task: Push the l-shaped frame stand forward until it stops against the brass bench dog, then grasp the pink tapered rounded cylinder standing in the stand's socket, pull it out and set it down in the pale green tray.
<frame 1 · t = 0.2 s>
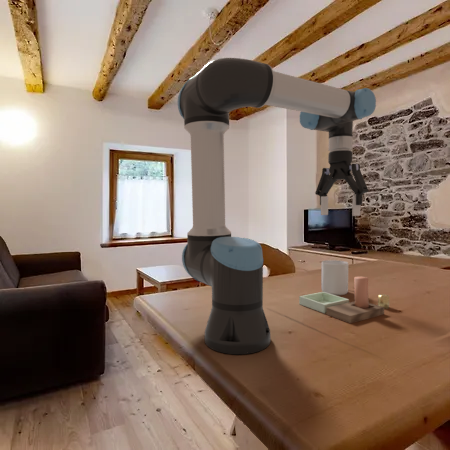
hand: (339, 215, 108), 28 cm above the table, fingers open, 13 cm apart
pink tapered rounded cylinder: (361, 312, 92), resting on l-shaped frame stand
l-shaped frame stand: (355, 318, 90), on the table, touching pink tapered rounded cylinder
bench dog: (383, 308, 96), on the table
tray: (323, 307, 98), on the table
mug: (336, 293, 115), on the table
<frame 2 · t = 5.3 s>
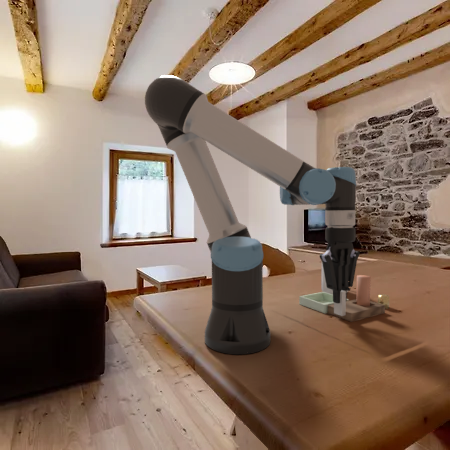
hand: (339, 314, 87), 2 cm above the table, fingers closed
l-shaped frame stand: (356, 315, 91), on the table, touching pink tapered rounded cylinder, gripper
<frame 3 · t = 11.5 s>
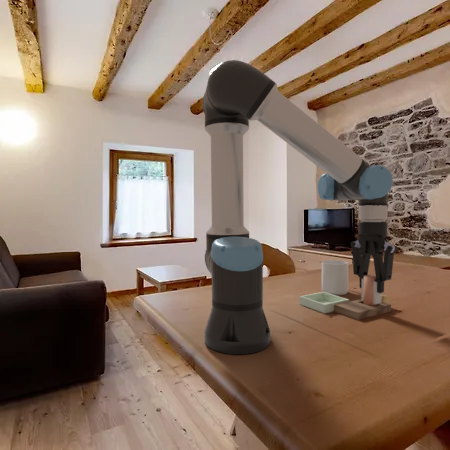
hand: (371, 301, 93), 3 cm above the table, fingers closed on pink tapered rounded cylinder, 3 cm apart
pink tapered rounded cylinder: (369, 310, 93), point 1 cm above the table, touching gripper
l-shaped frame stand: (362, 314, 93), on the table
everything else where it was.
when the fingers open (5 cm above the table, at t = 16.5 s): pink tapered rounded cylinder drops 1 cm, resting on tray.
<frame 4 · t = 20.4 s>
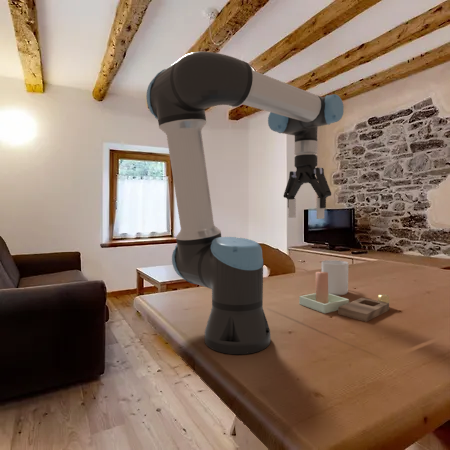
hand: (305, 218, 110), 27 cm above the table, fingers open, 13 cm apart
pink tapered rounded cylinder: (322, 305, 98), point 1 cm above the table, touching tray
at the end: l-shaped frame stand 0.7 cm from the target spot, on the table; pink tapered rounded cylinder inside the target area on the tray (0.5 cm from its centre), point 0.7 cm above the tray's base; the gripper is holding nothing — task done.
